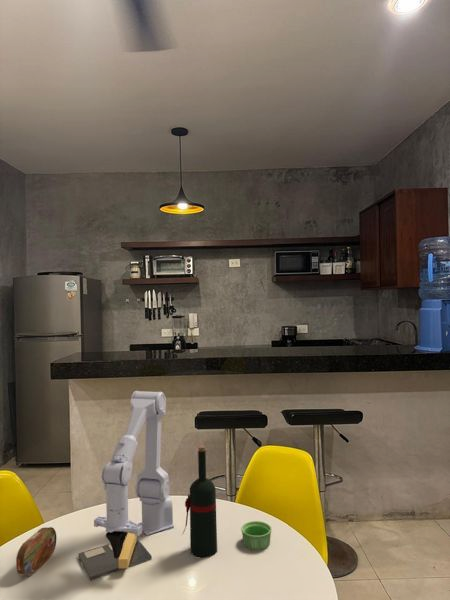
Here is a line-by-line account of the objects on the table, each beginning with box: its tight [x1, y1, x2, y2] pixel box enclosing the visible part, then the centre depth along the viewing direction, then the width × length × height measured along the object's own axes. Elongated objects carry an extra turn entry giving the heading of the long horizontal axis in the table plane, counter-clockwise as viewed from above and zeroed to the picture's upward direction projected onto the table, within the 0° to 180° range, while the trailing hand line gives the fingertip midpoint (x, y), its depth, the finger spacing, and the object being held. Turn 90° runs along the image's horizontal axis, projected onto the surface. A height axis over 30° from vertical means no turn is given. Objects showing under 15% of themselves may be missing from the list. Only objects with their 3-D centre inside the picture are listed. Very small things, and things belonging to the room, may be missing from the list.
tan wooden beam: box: [118, 533, 139, 569], centre depth 124 cm, size 16×3×2 cm, turn 2°
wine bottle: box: [181, 445, 218, 559], centre depth 127 cm, size 8×10×30 cm
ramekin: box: [240, 520, 272, 551], centre depth 131 cm, size 9×9×4 cm
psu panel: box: [77, 538, 153, 582], centre depth 124 cm, size 17×13×2 cm
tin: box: [15, 526, 58, 577], centre depth 122 cm, size 15×3×8 cm, turn 168°
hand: (118, 556), depth 120 cm, fingers closed, pressing on tan wooden beam
